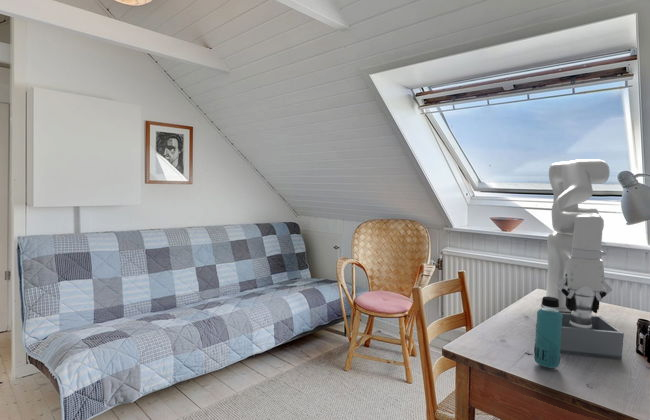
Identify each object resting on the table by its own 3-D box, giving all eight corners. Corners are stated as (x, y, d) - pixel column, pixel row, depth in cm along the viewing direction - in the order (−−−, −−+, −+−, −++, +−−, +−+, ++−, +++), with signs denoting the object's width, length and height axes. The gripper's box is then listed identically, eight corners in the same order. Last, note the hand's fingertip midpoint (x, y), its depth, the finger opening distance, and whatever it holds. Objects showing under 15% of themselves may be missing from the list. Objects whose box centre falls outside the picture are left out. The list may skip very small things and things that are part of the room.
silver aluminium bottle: (571, 339, 122) (575, 276, 121) (565, 331, 129) (569, 271, 127) (595, 342, 120) (600, 278, 119) (587, 334, 127) (592, 273, 125)
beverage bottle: (562, 367, 110) (567, 297, 108) (556, 376, 105) (561, 303, 103) (536, 360, 114) (540, 292, 113) (530, 367, 109) (534, 297, 108)
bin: (542, 334, 134) (543, 311, 133) (598, 339, 130) (600, 316, 129) (557, 352, 119) (559, 327, 119) (621, 359, 116) (623, 333, 115)
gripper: (611, 253, 124) (607, 309, 126) (551, 250, 128) (547, 304, 129) (623, 258, 117) (618, 317, 118) (559, 254, 121) (555, 312, 122)
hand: (581, 310), depth 124 cm, fingers closed on silver aluminium bottle, 6 cm apart
